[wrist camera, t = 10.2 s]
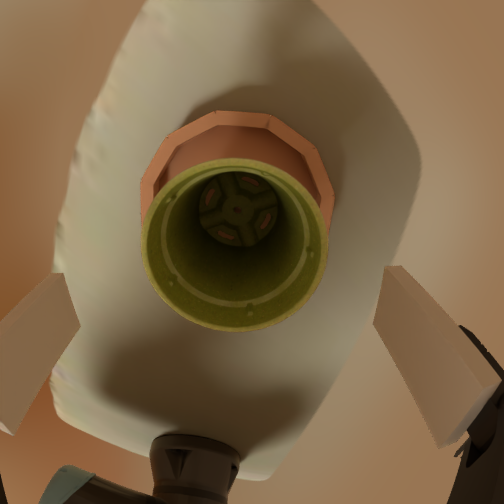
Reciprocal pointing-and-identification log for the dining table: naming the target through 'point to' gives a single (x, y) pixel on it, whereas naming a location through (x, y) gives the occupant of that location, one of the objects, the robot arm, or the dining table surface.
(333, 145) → the dining table surface
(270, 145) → the terracotta plant saucer
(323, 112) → the dining table surface
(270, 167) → the plant pot
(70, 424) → the dining table surface
